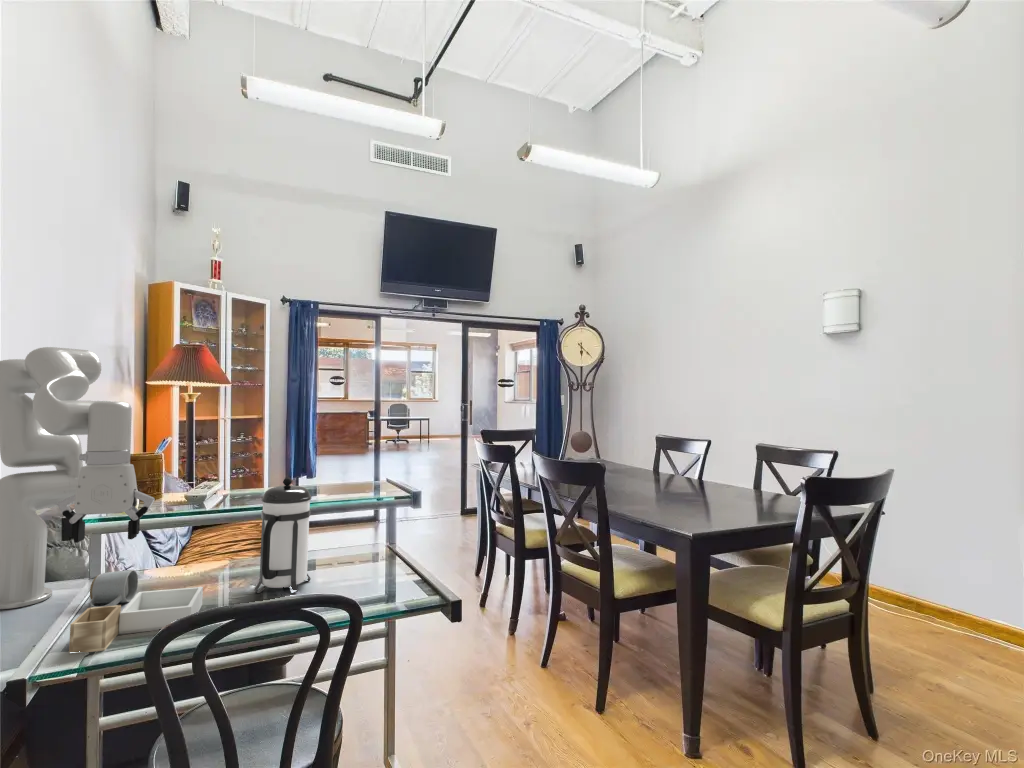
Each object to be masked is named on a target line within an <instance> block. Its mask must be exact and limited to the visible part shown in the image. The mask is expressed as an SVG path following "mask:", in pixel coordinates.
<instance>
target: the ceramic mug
mask: <svg viewBox="0 0 1024 768" xmlns="http://www.w3.org/2000/svg"><path fill="white" fill-rule="evenodd" d="M138 577H139V576H138V573H137V571H136V570H135V569H124V570H119V571H118V570H117V571H110V572H109V571H108V572H103V573H100V574H97V575H96V576H95V577H94V578H93V579H92V582H91V584H90V587H89V597H90V602H89V603H90V608H93V607H105V606H116V605H119V604H123V603H125V604H126V603H130V601H131V600H132V599H133V598H134V597H135V596H136V595H137V593H138V592H137V591H138V586H139V578H138ZM95 604H105V605H102V606H98V605H97V606H96V605H95Z"/></svg>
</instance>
